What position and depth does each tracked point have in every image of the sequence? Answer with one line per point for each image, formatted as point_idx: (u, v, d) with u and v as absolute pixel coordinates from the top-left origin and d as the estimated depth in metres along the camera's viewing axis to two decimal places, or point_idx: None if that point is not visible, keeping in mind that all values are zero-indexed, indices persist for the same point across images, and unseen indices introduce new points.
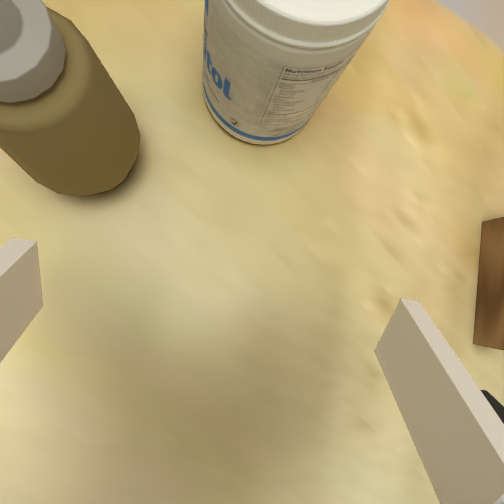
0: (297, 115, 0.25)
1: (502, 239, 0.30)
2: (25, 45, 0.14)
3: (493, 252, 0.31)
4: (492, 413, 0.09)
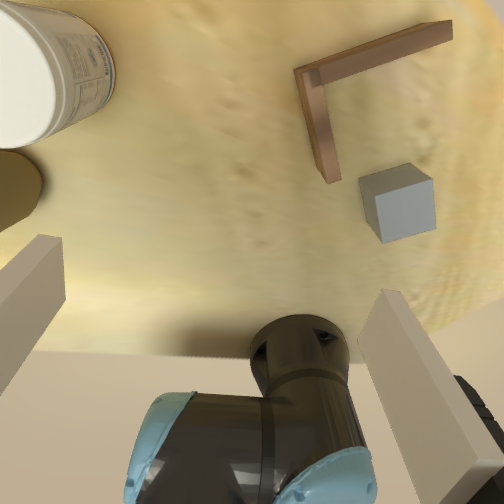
0: (92, 108, 0.34)
1: (301, 91, 0.36)
2: None
3: (302, 100, 0.37)
4: (462, 395, 0.10)
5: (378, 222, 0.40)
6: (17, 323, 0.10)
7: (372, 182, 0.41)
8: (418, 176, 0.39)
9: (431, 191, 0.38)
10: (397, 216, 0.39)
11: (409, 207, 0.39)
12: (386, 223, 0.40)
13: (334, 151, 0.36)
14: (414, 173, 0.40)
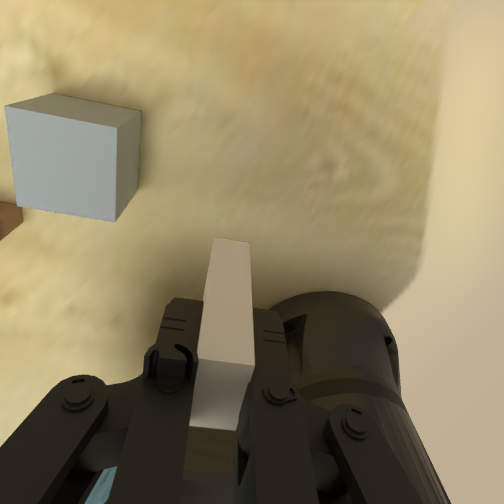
0: None
1: None
2: None
3: None
4: (248, 319, 0.11)
5: None
6: None
7: None
8: None
9: (30, 115, 0.20)
10: (67, 184, 0.22)
11: (55, 160, 0.21)
12: (75, 205, 0.23)
13: None
14: None
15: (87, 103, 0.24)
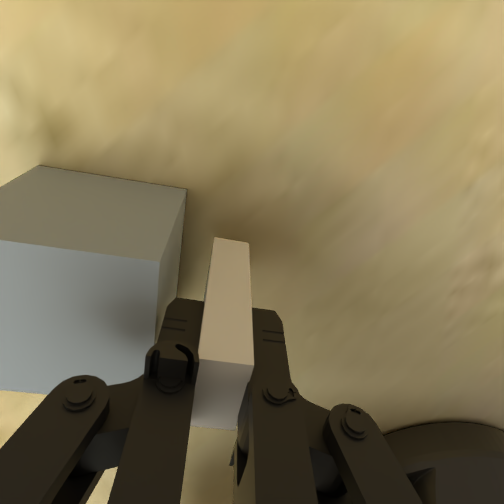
0: None
1: None
2: None
3: None
4: (248, 319, 0.11)
5: None
6: None
7: None
8: None
9: None
10: (62, 354, 0.12)
11: (37, 318, 0.11)
12: None
13: None
14: None
15: (96, 184, 0.14)
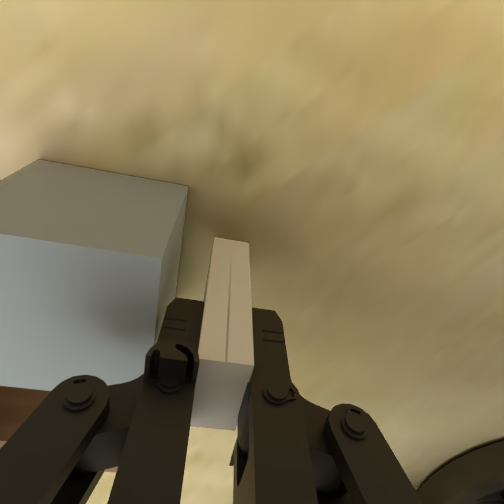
0: None
1: None
2: None
3: None
4: (248, 319, 0.11)
5: None
6: None
7: None
8: None
9: None
10: (61, 350, 0.12)
11: (36, 313, 0.11)
12: None
13: None
14: None
15: (97, 180, 0.14)
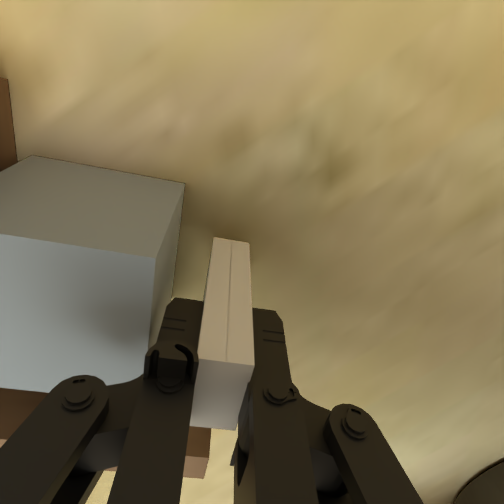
0: None
1: None
2: None
3: None
4: (248, 319, 0.11)
5: None
6: None
7: None
8: None
9: None
10: (53, 350, 0.11)
11: (27, 313, 0.11)
12: None
13: None
14: None
15: (91, 176, 0.14)
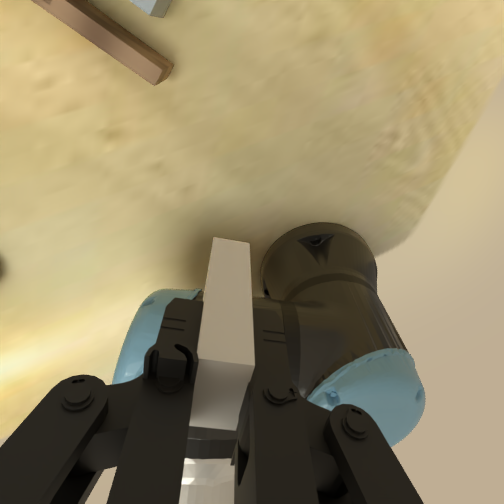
0: None
1: None
2: None
3: None
4: (248, 319, 0.11)
5: None
6: None
7: None
8: None
9: None
10: None
11: None
12: None
13: (128, 47, 0.30)
14: None
15: None
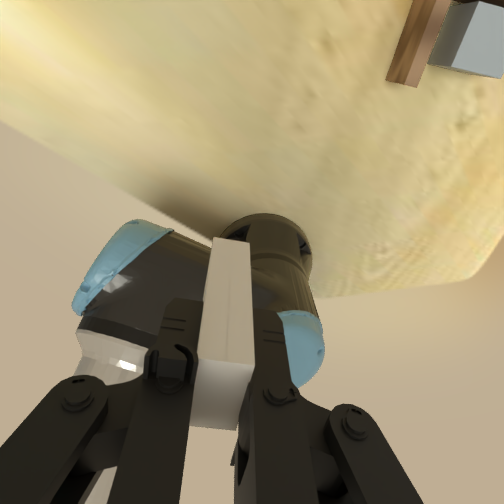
0: None
1: None
2: None
3: (417, 4, 0.40)
4: (248, 319, 0.11)
5: (461, 38, 0.38)
6: None
7: None
8: None
9: None
10: (481, 40, 0.38)
11: (496, 37, 0.38)
12: (468, 42, 0.38)
13: (427, 56, 0.39)
14: None
15: None
